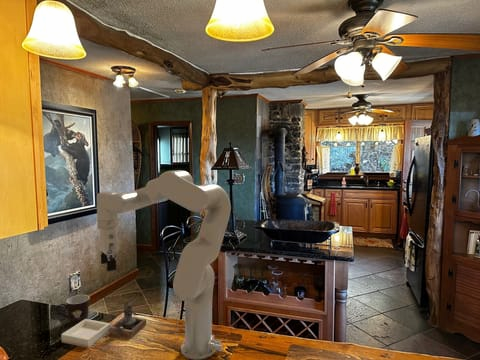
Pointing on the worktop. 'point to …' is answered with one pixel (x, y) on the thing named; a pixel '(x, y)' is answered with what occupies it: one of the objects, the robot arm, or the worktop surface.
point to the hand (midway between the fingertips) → (108, 266)
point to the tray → (85, 333)
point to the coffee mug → (76, 309)
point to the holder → (119, 331)
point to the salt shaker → (128, 317)
